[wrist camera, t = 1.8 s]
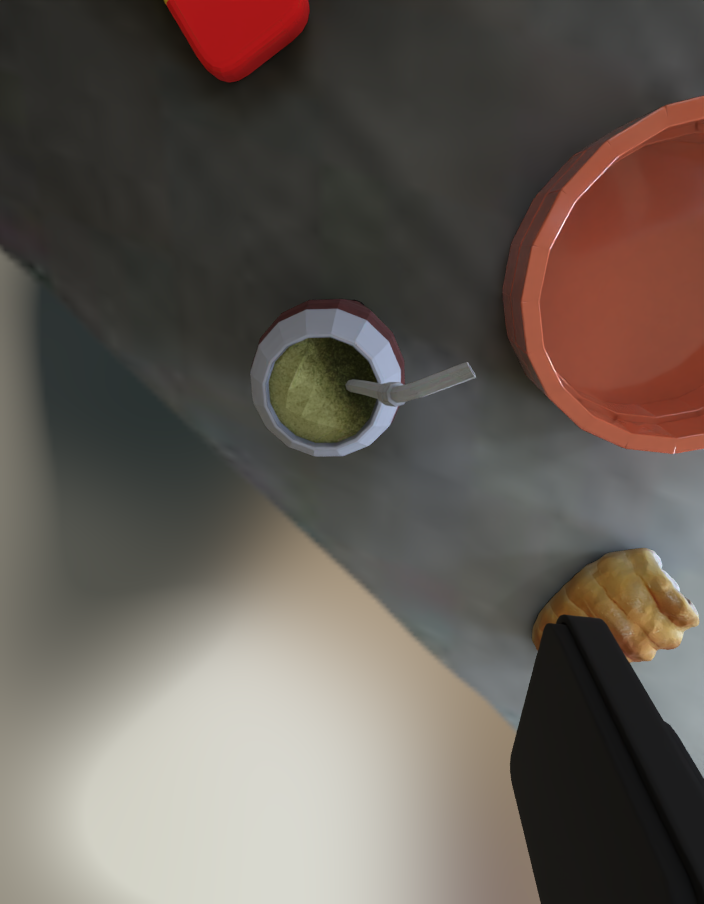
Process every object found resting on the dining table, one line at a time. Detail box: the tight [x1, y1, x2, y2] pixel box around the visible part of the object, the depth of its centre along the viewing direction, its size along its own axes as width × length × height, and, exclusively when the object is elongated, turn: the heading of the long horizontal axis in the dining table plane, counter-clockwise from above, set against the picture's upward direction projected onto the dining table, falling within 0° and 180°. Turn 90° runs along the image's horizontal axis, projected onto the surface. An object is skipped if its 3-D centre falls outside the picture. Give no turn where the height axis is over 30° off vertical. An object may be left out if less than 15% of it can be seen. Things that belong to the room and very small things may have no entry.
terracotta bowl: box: [502, 95, 704, 454], centre depth 26 cm, size 15×15×5 cm
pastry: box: [532, 548, 699, 663], centre depth 34 cm, size 9×7×4 cm
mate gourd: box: [250, 299, 476, 456], centre depth 23 cm, size 8×8×15 cm
